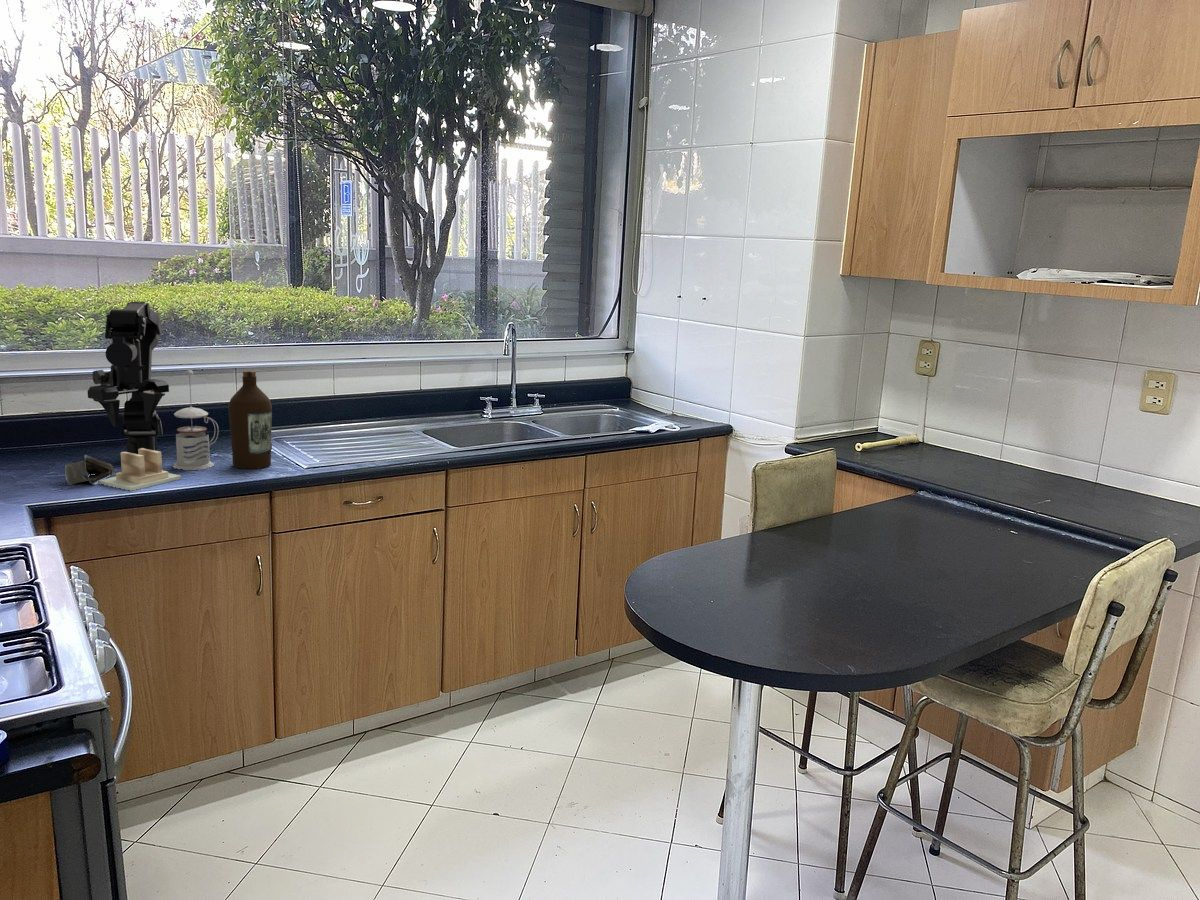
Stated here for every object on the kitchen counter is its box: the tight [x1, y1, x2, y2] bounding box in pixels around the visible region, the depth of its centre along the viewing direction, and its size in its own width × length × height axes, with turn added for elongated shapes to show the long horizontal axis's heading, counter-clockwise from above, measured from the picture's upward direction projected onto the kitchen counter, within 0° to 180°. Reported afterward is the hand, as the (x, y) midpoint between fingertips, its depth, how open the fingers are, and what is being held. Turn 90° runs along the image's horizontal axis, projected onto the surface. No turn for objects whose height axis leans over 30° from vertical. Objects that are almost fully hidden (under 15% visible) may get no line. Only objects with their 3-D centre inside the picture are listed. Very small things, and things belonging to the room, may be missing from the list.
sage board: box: [98, 472, 182, 492], centre depth 215 cm, size 14×11×1 cm
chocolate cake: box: [64, 454, 115, 486], centre depth 213 cm, size 10×7×12 cm
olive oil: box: [228, 369, 273, 470], centre depth 234 cm, size 11×11×25 cm
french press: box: [172, 369, 220, 471], centre depth 231 cm, size 10×12×25 cm
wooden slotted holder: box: [115, 448, 169, 484], centre depth 214 cm, size 8×8×6 cm
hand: (131, 423), depth 222 cm, fingers open, 9 cm apart
